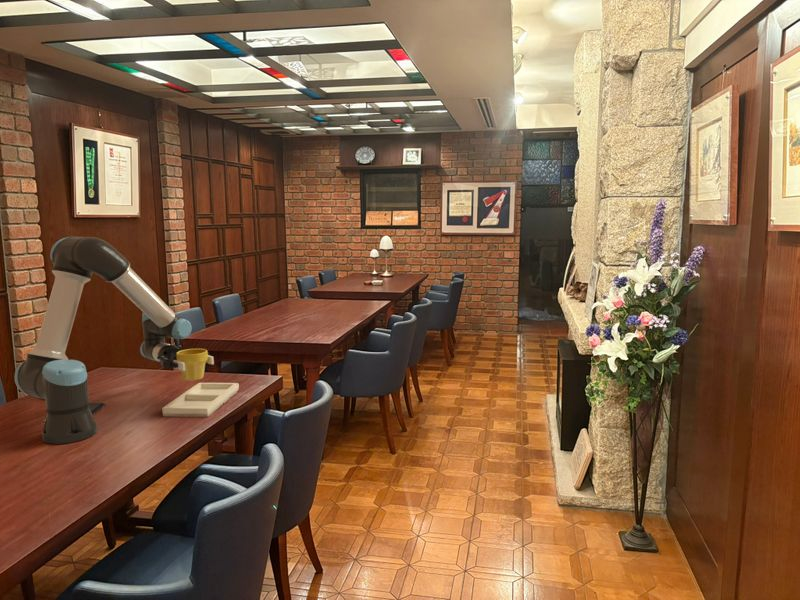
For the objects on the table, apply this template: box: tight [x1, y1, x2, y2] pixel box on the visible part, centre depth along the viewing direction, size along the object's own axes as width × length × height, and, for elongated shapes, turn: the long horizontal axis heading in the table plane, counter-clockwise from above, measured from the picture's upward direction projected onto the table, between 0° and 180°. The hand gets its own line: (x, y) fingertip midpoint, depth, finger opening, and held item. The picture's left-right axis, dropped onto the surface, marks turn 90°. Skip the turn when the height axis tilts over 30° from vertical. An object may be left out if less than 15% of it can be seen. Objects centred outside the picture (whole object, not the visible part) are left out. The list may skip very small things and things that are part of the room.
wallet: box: [39, 402, 107, 425], centre depth 201 cm, size 20×2×15 cm
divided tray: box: [161, 382, 240, 418], centre depth 212 cm, size 31×16×3 cm, turn 176°
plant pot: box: [176, 348, 208, 381], centre depth 203 cm, size 10×10×10 cm
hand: (198, 363), depth 200 cm, fingers closed on plant pot, 10 cm apart
